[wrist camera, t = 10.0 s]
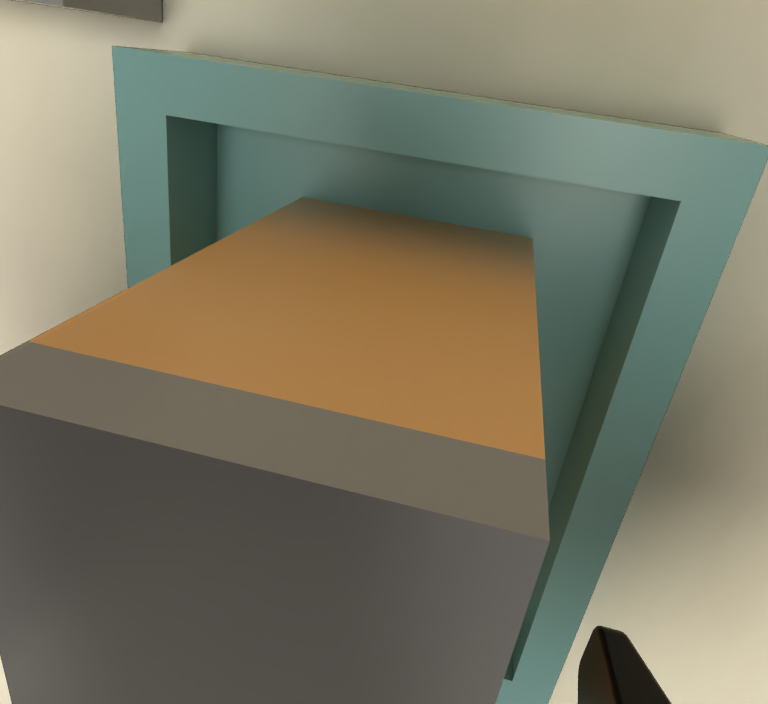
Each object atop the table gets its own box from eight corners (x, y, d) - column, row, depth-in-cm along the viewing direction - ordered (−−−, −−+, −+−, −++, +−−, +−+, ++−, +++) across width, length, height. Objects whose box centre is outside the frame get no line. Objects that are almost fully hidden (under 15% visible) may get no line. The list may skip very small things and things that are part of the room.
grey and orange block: (532, 237, 12) (551, 540, 4) (454, 558, 16) (386, 1029, 8) (302, 196, 13) (-65, 388, 5) (281, 514, 17) (61, 907, 9)
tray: (722, 133, 11) (773, 146, 9) (540, 635, 17) (542, 717, 15) (184, 51, 13) (111, 45, 10) (193, 541, 19) (148, 603, 17)
